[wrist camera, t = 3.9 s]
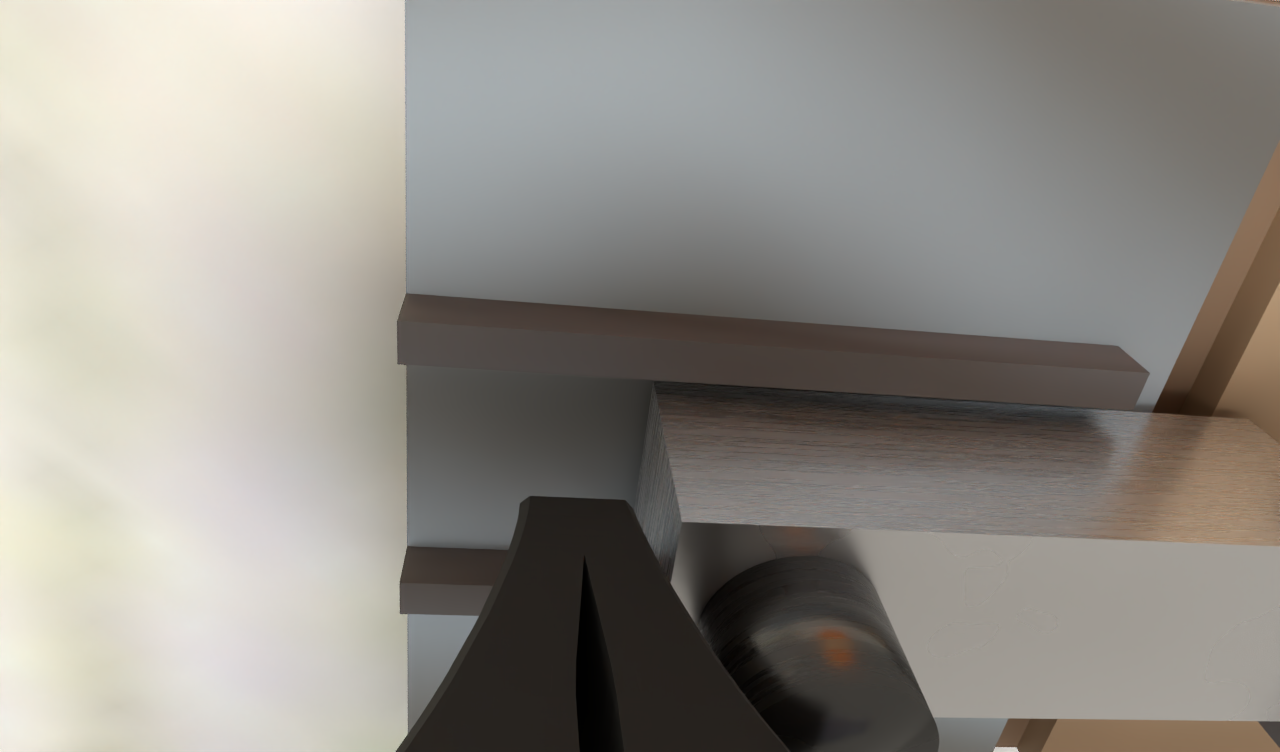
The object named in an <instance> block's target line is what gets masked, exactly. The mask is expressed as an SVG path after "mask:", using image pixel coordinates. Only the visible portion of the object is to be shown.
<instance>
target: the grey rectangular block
mask: <svg viewBox="0 0 1280 752" xmlns="http://www.w3.org/2000/svg"><path fill="white" fill-rule="evenodd" d="M634 512H635V515H636V517H637V519H638V521H639V524H640V526H641V528H642V530H643V532H644V534H645V536H646V538H647V540H648V542H649V544H650V546H651V548H652V550H653V552H654V554H655V556H656V558H657V560H658V561H659V563H660V565H661V567H662V569H663V571H664V572H665V574H666V576H667V578H668V580H669V581H670V583H671V585H672V587H673V588H674V590H675V592H676V593H677V595H678V597H679V598H680V600H681V602H682V603H683V605H684V606H685V608H686V610H687V611H688V613H689V614H690V616H691V618H692V619H693V621H694V622H695V624H696V626H697V627H698V629H699V630H700V632H701V634H702V635H703V637H704V638H705V640H706V641H707V643H708V644H709V646H710V647H711V649H712V650H713V652H714V653H715V655H716V656H717V657H718V659H719V660H720V662H721V663H722V664H723V666H724V667H725V669H726V670H727V671H728V673H729V674H730V676H731V677H732V678H733V680H734V681H735V683H736V684H737V685H738V687H739V688H740V689H741V691H742V692H743V693H744V695H745V696H746V697H747V699H748V700H749V701H750V703H751V704H752V705H753V706H754V708H755V709H756V710H757V712H758V713H759V714H760V715H761V717H762V718H763V719H764V720H765V722H766V723H767V724H768V725H769V727H770V728H771V729H772V730H773V731H774V732H775V734H776V735H777V736H778V737H779V738H780V740H781V741H782V742H783V743H784V744H785V746H786V747H787V748H788V749H789V750H790V752H938V748H939V732H938V728H937V725H936V722H935V720H934V718H933V717H938V718H1024V719H1110V720H1196V721H1280V444H1279V443H1278V442H1277V441H1275V440H1274V439H1273V438H1272V437H1270V436H1269V435H1268V434H1267V433H1265V432H1264V431H1263V430H1261V429H1260V428H1259V427H1258V426H1256V425H1255V424H1254V423H1253V422H1251V421H1250V420H1249V419H1243V418H1227V417H1211V416H1196V415H1180V414H1164V413H1148V412H1132V411H1116V410H1100V409H1084V408H1068V407H1053V406H1037V405H1021V404H1005V403H989V402H973V401H957V400H941V399H925V398H909V397H894V396H878V395H862V394H846V393H830V392H814V391H798V390H782V389H766V388H751V387H735V386H719V385H703V384H687V383H671V382H655V381H654V382H653V389H652V396H651V402H650V409H649V416H648V422H647V429H646V436H645V442H644V449H643V456H642V462H641V469H640V476H639V482H638V489H637V496H636V502H635V509H634Z"/></svg>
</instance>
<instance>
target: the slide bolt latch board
mask: <svg viewBox="0 0 1280 752" xmlns="http://www.w3.org/2000/svg"><path fill="white" fill-rule="evenodd" d="M405 105H406V296H405V299H404V302H403V305H402V308H401V311H400V314H399V317H398V320H397V350H398V364H404V365H407V550H406V555H405V560H404V565H403V569H402V574H401V579H400V614H408V733H409V732H410V730H411V729H412V727H413V726H414V724H415V723H416V722H417V720H418V719H419V717H420V716H421V714H422V713H423V711H424V710H425V708H426V706H427V705H428V703H429V702H430V700H431V699H432V697H433V696H434V694H435V692H436V691H437V689H438V688H439V686H440V684H441V683H442V681H443V679H444V678H445V676H446V674H447V673H448V671H449V669H450V667H451V666H452V664H453V662H454V660H455V659H456V657H457V655H458V653H459V651H460V650H461V648H462V646H463V644H464V643H465V641H466V639H467V637H468V636H469V634H470V632H471V630H472V628H473V627H474V625H475V623H476V621H477V619H478V617H479V615H480V613H481V611H482V609H483V606H484V604H485V602H486V600H487V598H488V596H489V594H490V592H491V589H492V587H493V585H494V583H495V581H496V579H497V577H498V574H499V572H500V570H501V567H502V565H503V562H504V560H505V557H506V554H507V552H508V549H509V546H510V544H511V541H512V538H513V534H514V531H515V527H516V523H517V519H518V515H519V506H520V503H521V502H522V501H524V500H525V499H526V498H528V497H529V496H547V497H571V498H595V499H619V500H626V501H627V502H628V503H629V504H630V506H631V507H632V508H633V510H634V509H635V502H636V496H637V489H638V482H639V476H640V469H641V462H642V456H643V449H644V442H645V436H646V429H647V422H648V416H649V409H650V402H651V396H652V389H653V382H654V381H655V382H671V383H687V384H703V385H719V386H735V387H751V388H766V389H782V390H798V391H814V392H830V393H846V394H862V395H878V396H894V397H909V398H925V399H941V400H957V401H973V402H989V403H1005V404H1021V405H1037V406H1053V407H1068V408H1084V409H1100V410H1116V411H1132V412H1148V413H1164V414H1180V415H1196V416H1211V417H1227V418H1243V419H1249V420H1250V421H1251V422H1253V423H1254V424H1255V425H1256V426H1258V427H1259V428H1260V429H1261V430H1263V431H1264V432H1265V433H1267V434H1268V435H1269V436H1270V437H1272V438H1273V439H1274V440H1275V441H1277V442H1278V443H1279V444H1280V2H1279V1H1272V0H405ZM933 718H934V720H935V722H936V725H937V728H938V732H939V748H938V752H993V750H994V748H995V747H1017V749H1018V751H1019V752H1280V721H1196V720H1110V719H1024V718H938V717H933Z"/></svg>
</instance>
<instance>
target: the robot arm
mask: <svg viewBox="0 0 1280 752" xmlns="http://www.w3.org/2000/svg"><path fill="white" fill-rule="evenodd" d="M396 752H790V750H789V749H788V748H787V747H786V746H785V744H784V743H783V742H782V741H781V740H780V738H779V737H778V736H777V735H776V734H775V732H774V731H773V730H772V729H771V728H770V727H769V725H768V724H767V723H766V722H765V720H764V719H763V718H762V717H761V715H760V714H759V713H758V712H757V710H756V709H755V708H754V706H753V705H752V704H751V703H750V701H749V700H748V699H747V697H746V696H745V695H744V693H743V692H742V691H741V689H740V688H739V687H738V685H737V684H736V683H735V681H734V680H733V678H732V677H731V676H730V674H729V673H728V671H727V670H726V669H725V667H724V666H723V664H722V663H721V662H720V660H719V659H718V657H717V656H716V655H715V653H714V652H713V650H712V649H711V647H710V646H709V644H708V643H707V641H706V640H705V638H704V637H703V635H702V634H701V632H700V630H699V629H698V627H697V626H696V624H695V622H694V621H693V619H692V618H691V616H690V614H689V613H688V611H687V610H686V608H685V606H684V605H683V603H682V602H681V600H680V598H679V597H678V595H677V593H676V592H675V590H674V588H673V587H672V585H671V583H670V581H669V580H668V578H667V576H666V574H665V572H664V571H663V569H662V567H661V565H660V563H659V561H658V560H657V558H656V556H655V554H654V552H653V550H652V548H651V546H650V544H649V542H648V540H647V538H646V536H645V534H644V532H643V530H642V528H641V526H640V524H639V521H638V519H637V517H636V515H635V512H634V510H633V508H632V507H631V506H630V504H629V503H628V502H627V501H626V500H619V499H595V498H571V497H547V496H529V497H528V498H526V499H525V500H524V501H522V502H521V503H520V506H519V515H518V519H517V523H516V527H515V531H514V534H513V538H512V541H511V544H510V546H509V549H508V552H507V554H506V557H505V560H504V562H503V565H502V567H501V570H500V572H499V574H498V577H497V579H496V581H495V583H494V585H493V587H492V589H491V592H490V594H489V596H488V598H487V600H486V602H485V604H484V606H483V609H482V611H481V613H480V615H479V617H478V619H477V621H476V623H475V625H474V627H473V628H472V630H471V632H470V634H469V636H468V637H467V639H466V641H465V643H464V644H463V646H462V648H461V650H460V651H459V653H458V655H457V657H456V659H455V660H454V662H453V664H452V666H451V667H450V669H449V671H448V673H447V674H446V676H445V678H444V679H443V681H442V683H441V684H440V686H439V688H438V689H437V691H436V692H435V694H434V696H433V697H432V699H431V700H430V702H429V703H428V705H427V706H426V708H425V710H424V711H423V713H422V714H421V716H420V717H419V719H418V720H417V722H416V723H415V724H414V726H413V727H412V729H411V730H410V732H409V733H408V735H407V736H406V738H405V739H404V741H403V742H402V743H401V745H400V746H399V748H398V749H397V751H396Z"/></svg>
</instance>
